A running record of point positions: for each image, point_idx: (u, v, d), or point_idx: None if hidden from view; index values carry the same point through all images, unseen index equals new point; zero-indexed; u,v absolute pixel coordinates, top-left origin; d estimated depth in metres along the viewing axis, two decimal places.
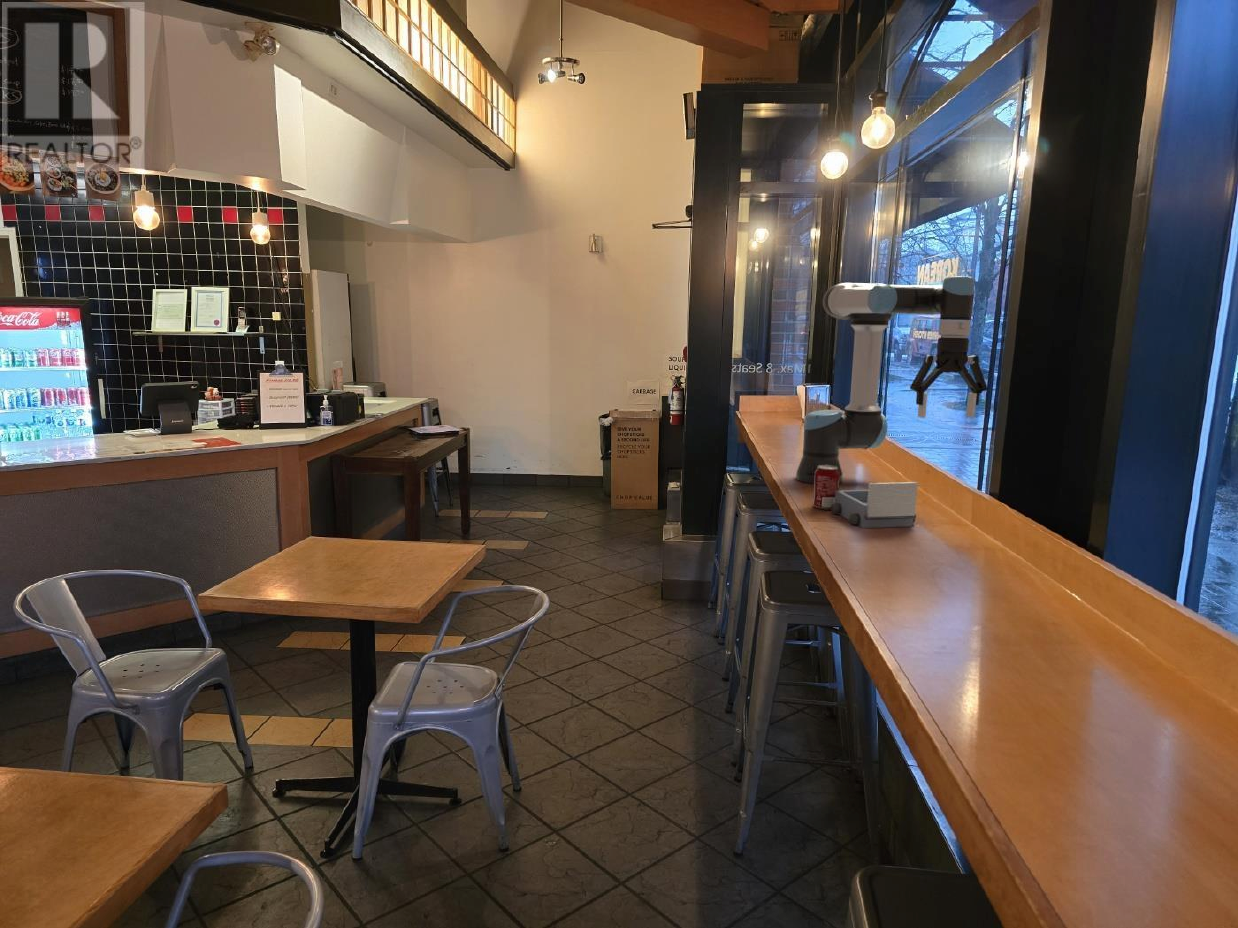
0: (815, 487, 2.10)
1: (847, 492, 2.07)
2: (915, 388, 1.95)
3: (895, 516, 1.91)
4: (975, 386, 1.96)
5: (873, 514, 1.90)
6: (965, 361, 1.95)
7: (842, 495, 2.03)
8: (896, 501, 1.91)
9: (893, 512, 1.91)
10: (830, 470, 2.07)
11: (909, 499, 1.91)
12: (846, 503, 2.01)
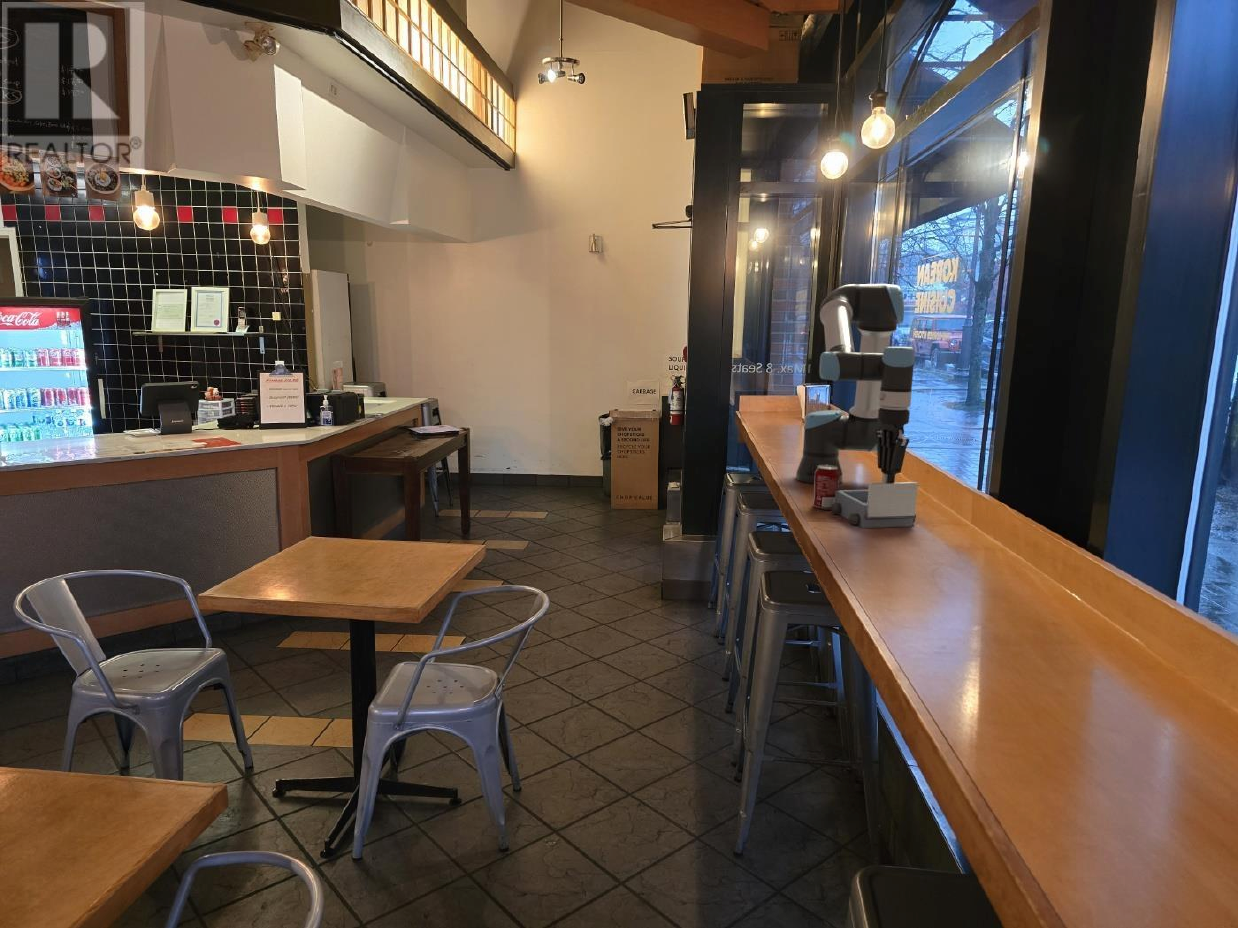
0: (815, 487, 2.10)
1: (847, 492, 2.07)
2: (878, 466, 1.95)
3: (895, 516, 1.91)
4: (887, 465, 1.90)
5: (873, 514, 1.90)
6: (894, 434, 1.87)
7: (842, 495, 2.03)
8: (896, 501, 1.91)
9: (893, 512, 1.91)
10: (830, 470, 2.07)
11: (909, 499, 1.91)
12: (846, 503, 2.01)
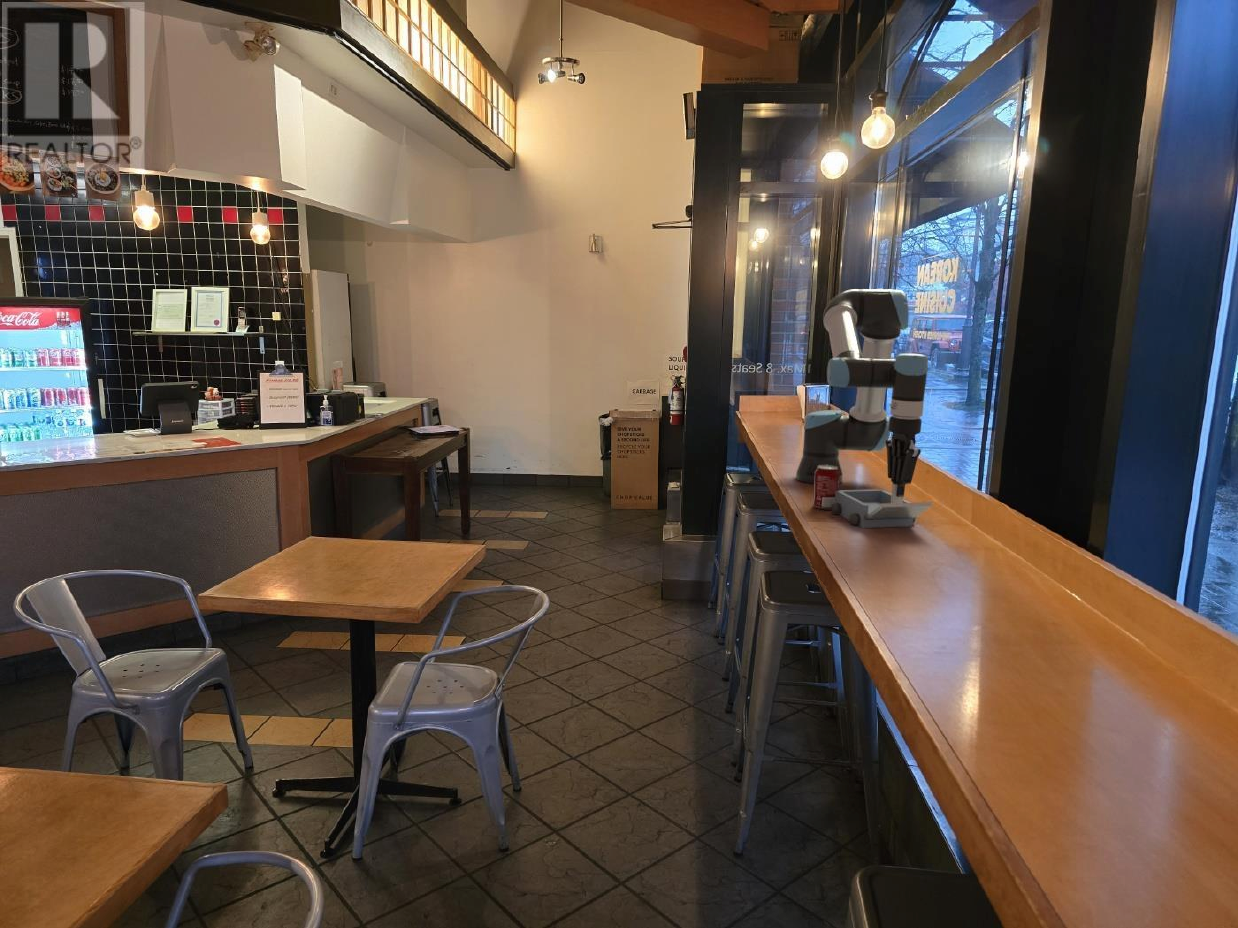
0: (815, 487, 2.10)
1: (847, 492, 2.07)
2: (888, 476, 1.90)
3: (895, 518, 1.91)
4: (897, 476, 1.85)
5: (873, 518, 1.90)
6: (905, 444, 1.82)
7: (842, 495, 2.03)
8: (902, 513, 1.88)
9: (894, 517, 1.90)
10: (830, 470, 2.07)
11: (916, 511, 1.88)
12: (846, 503, 2.01)
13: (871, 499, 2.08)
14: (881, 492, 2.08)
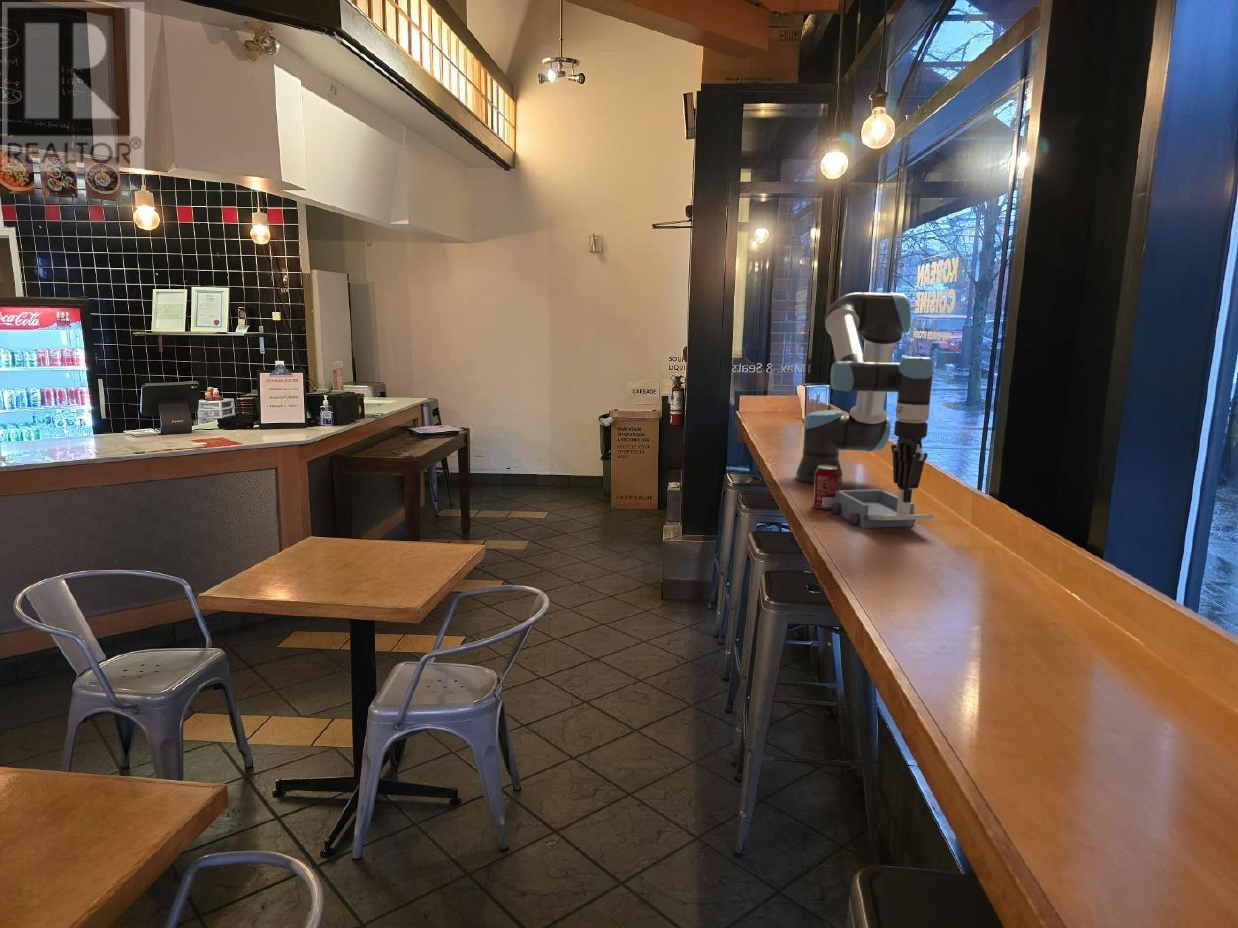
0: (815, 487, 2.10)
1: (847, 492, 2.07)
2: (894, 481, 1.87)
3: None
4: (904, 481, 1.82)
5: None
6: (911, 448, 1.79)
7: (842, 495, 2.03)
8: None
9: None
10: (830, 470, 2.07)
11: None
12: (846, 503, 2.01)
13: (871, 499, 2.08)
14: (881, 492, 2.08)
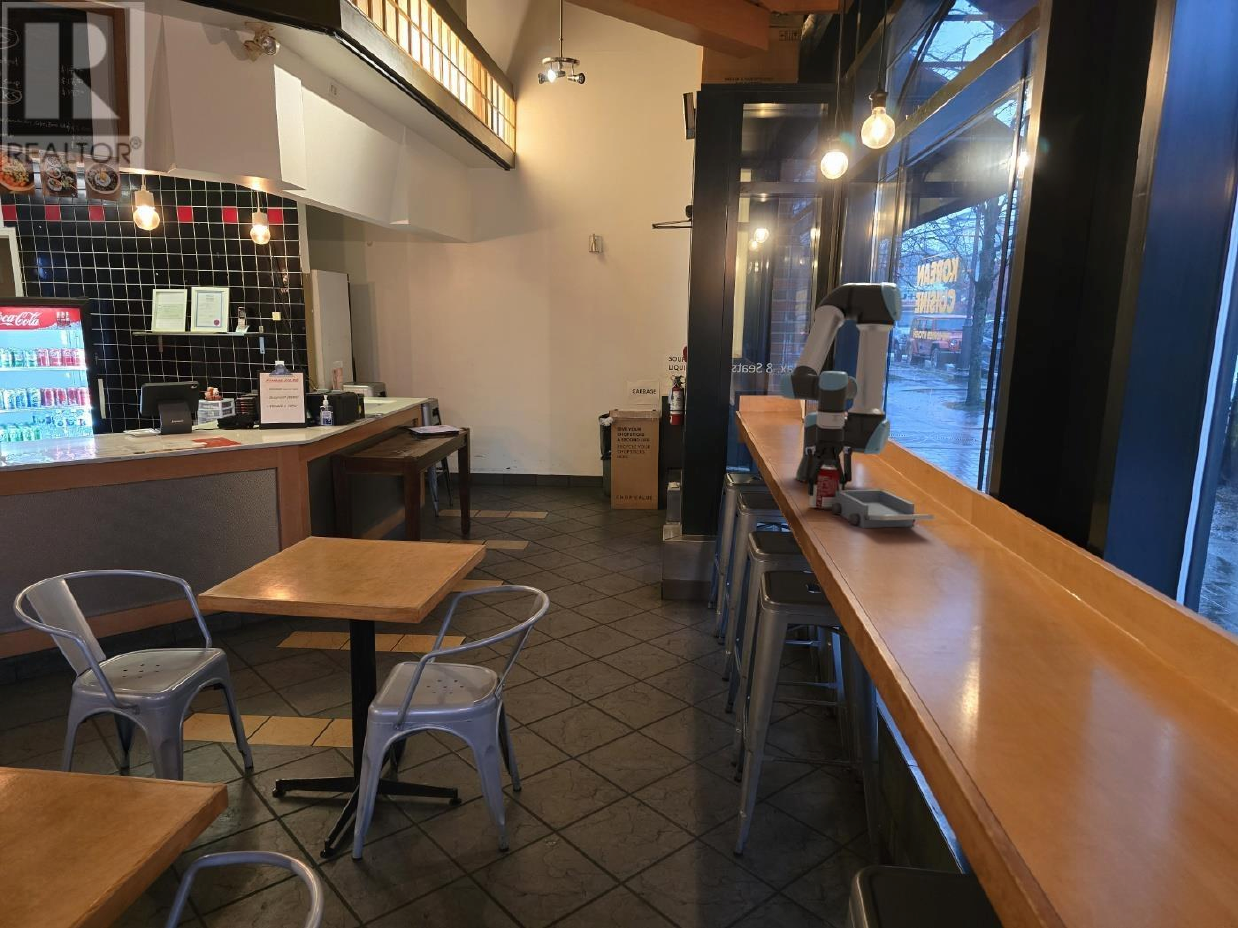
0: None
1: (847, 492, 2.07)
2: (806, 481, 2.09)
3: None
4: (842, 477, 2.10)
5: None
6: (840, 449, 2.08)
7: (842, 495, 2.03)
8: None
9: None
10: (830, 470, 2.07)
11: None
12: (846, 503, 2.01)
13: (871, 499, 2.08)
14: (881, 492, 2.08)
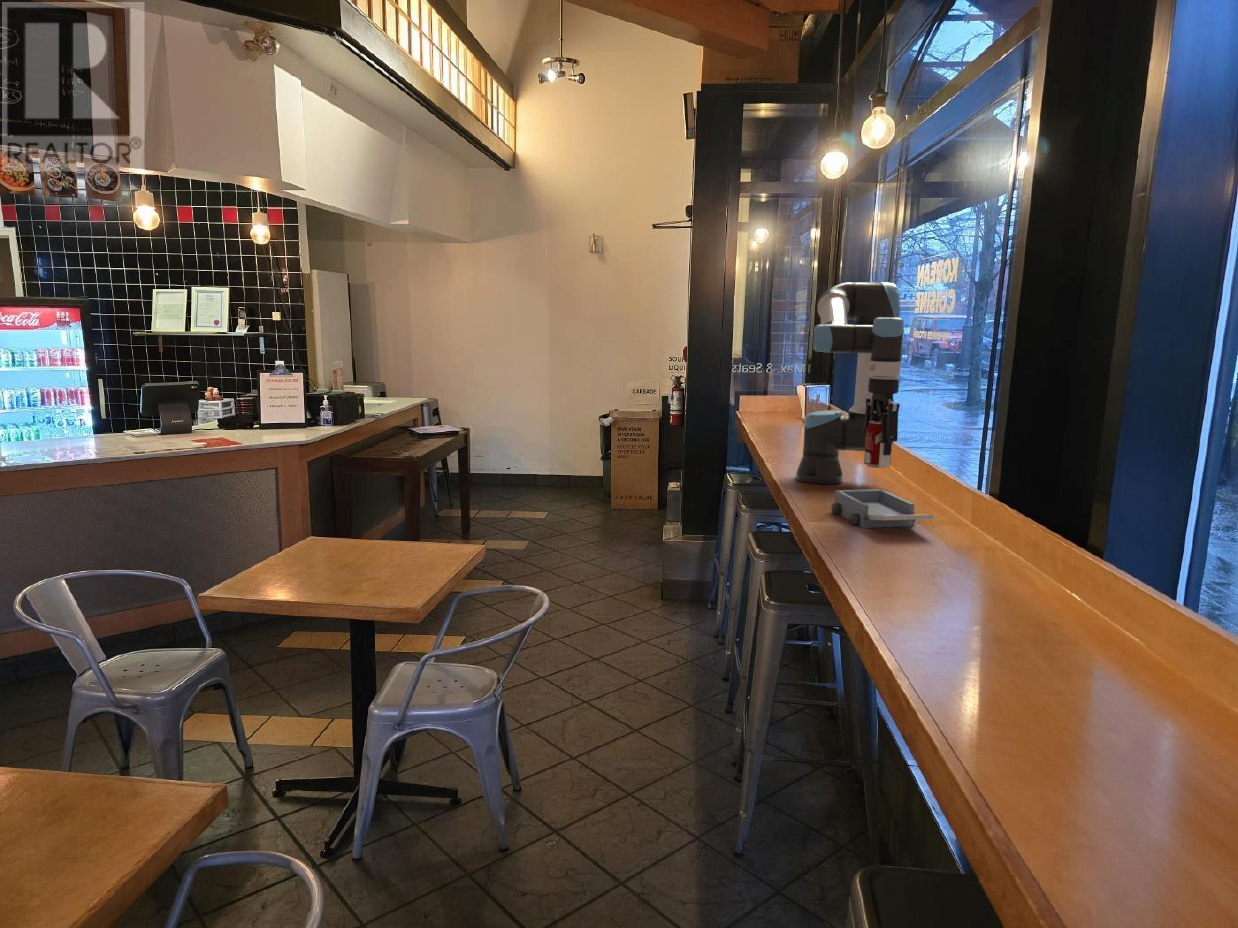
0: None
1: (847, 492, 2.07)
2: (863, 432, 2.02)
3: None
4: (883, 434, 1.91)
5: None
6: (884, 403, 1.91)
7: (842, 495, 2.03)
8: None
9: None
10: (870, 423, 1.95)
11: None
12: (846, 503, 2.01)
13: (871, 499, 2.08)
14: (881, 492, 2.08)
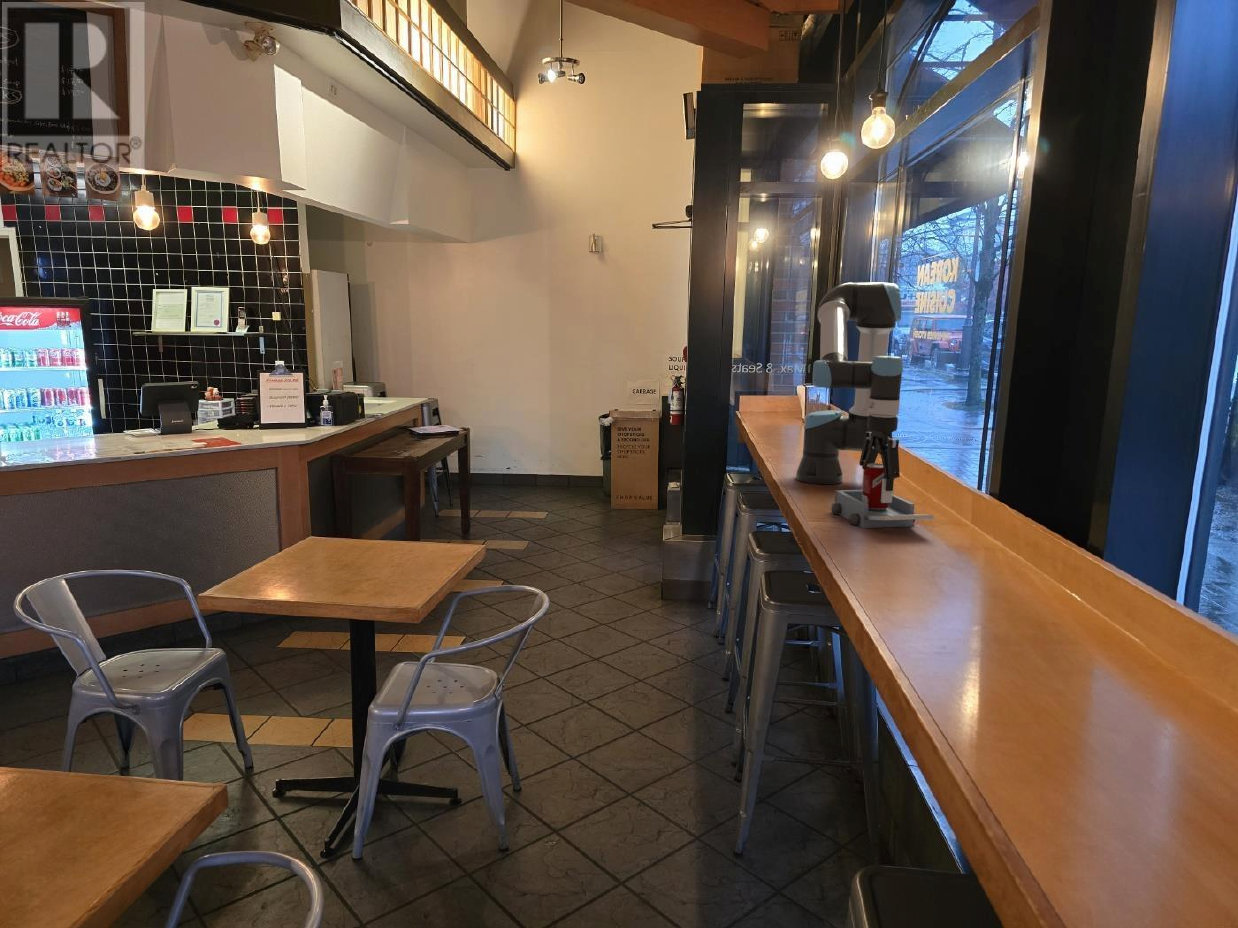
0: None
1: (847, 492, 2.07)
2: (859, 463, 2.05)
3: None
4: (884, 470, 1.92)
5: None
6: (883, 441, 1.92)
7: (842, 495, 2.03)
8: None
9: None
10: (867, 466, 1.97)
11: None
12: (846, 503, 2.01)
13: None
14: None
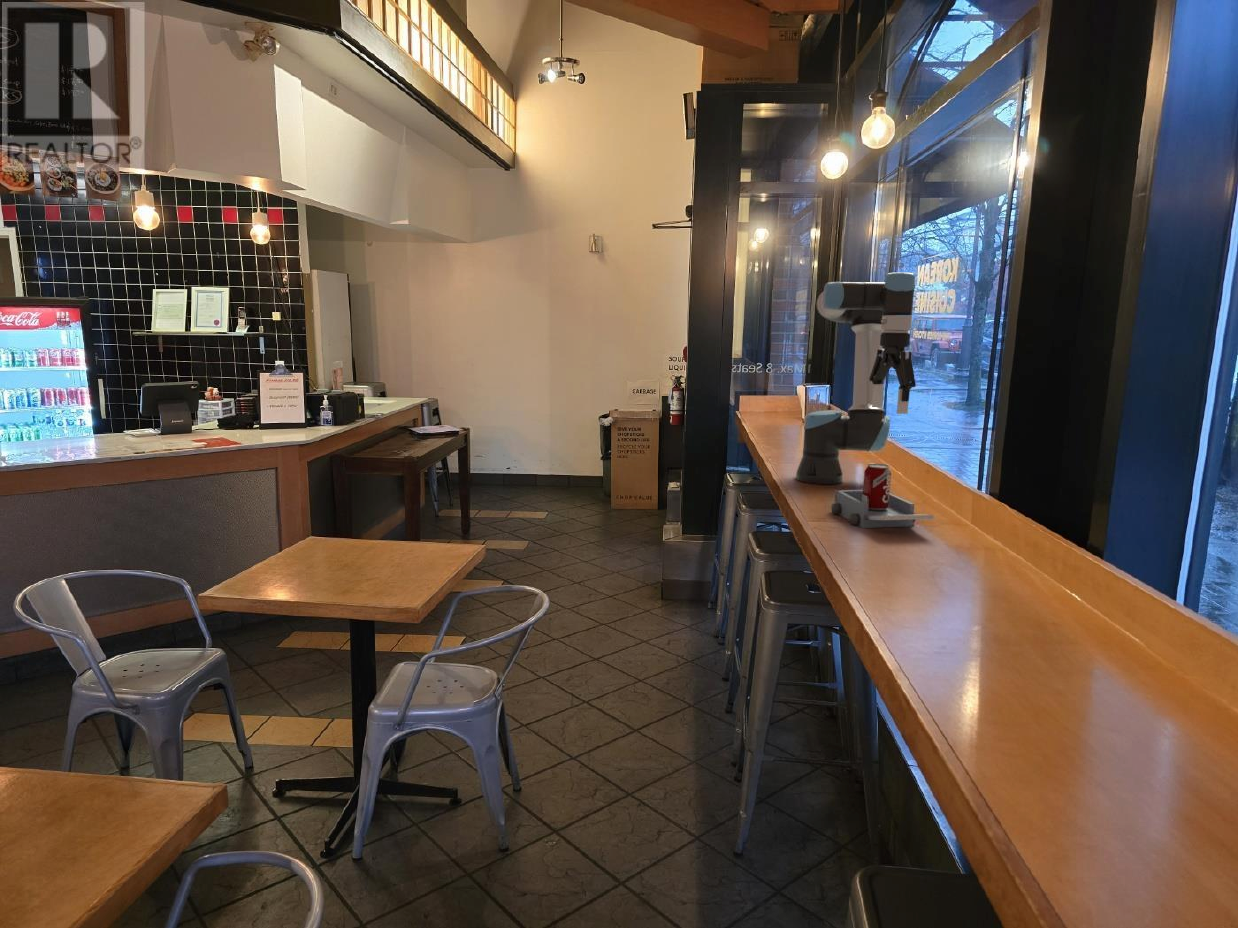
0: None
1: (847, 492, 2.07)
2: (869, 379, 2.11)
3: None
4: (900, 381, 1.95)
5: None
6: (896, 356, 1.97)
7: (842, 495, 2.03)
8: None
9: None
10: (868, 466, 1.97)
11: None
12: (846, 503, 2.01)
13: None
14: None
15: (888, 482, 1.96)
